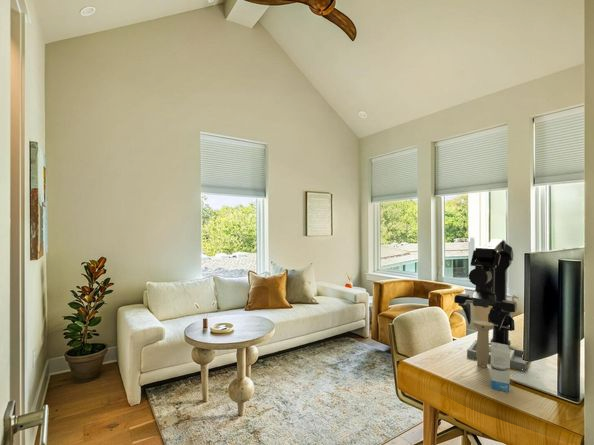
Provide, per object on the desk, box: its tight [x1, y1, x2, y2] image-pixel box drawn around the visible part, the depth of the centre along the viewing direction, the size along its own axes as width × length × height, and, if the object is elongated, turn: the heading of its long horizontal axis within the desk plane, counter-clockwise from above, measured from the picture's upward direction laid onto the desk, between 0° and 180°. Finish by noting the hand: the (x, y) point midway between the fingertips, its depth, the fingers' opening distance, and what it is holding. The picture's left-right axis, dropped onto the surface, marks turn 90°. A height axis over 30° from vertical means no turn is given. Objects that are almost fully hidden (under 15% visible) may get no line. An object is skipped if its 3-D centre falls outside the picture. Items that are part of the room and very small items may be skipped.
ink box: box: [489, 342, 511, 393], centre depth 104 cm, size 8×5×12 cm, turn 151°
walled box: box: [466, 339, 529, 371], centre depth 125 cm, size 14×18×2 cm
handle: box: [472, 320, 494, 368], centre depth 118 cm, size 5×6×15 cm
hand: (483, 326), depth 118 cm, fingers open, 9 cm apart
